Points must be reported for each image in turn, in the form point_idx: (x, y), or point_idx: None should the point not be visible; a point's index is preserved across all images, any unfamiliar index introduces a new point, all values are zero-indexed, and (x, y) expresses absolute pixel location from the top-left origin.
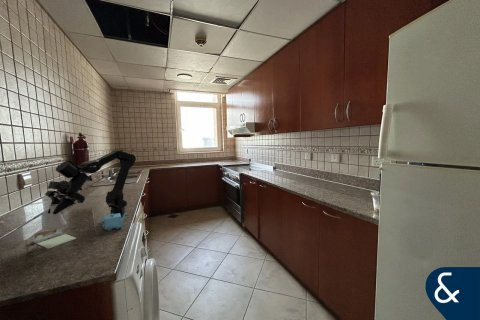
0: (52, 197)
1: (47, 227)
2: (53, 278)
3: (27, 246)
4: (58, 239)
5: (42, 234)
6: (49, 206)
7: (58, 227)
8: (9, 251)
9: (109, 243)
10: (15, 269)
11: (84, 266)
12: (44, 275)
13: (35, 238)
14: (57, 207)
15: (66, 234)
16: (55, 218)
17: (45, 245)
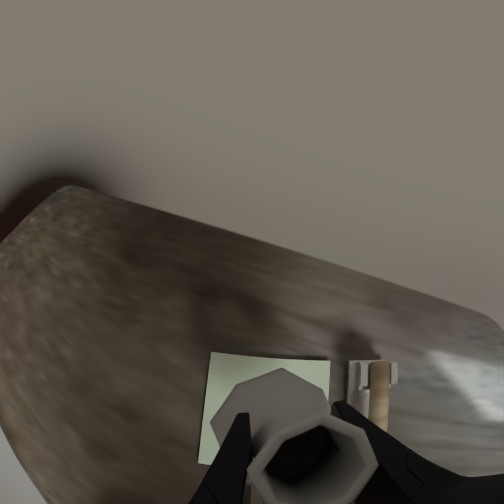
0: (487, 497)
1: (271, 375)
2: (30, 243)
3: (343, 331)
4: None
5: (370, 390)
6: (319, 413)
7: (215, 414)
8: (353, 282)
9: (26, 427)
10: (156, 229)
11: (3, 295)
12: (53, 242)
13: (364, 361)
14: (217, 466)
15: None
16: None
17: (257, 363)
